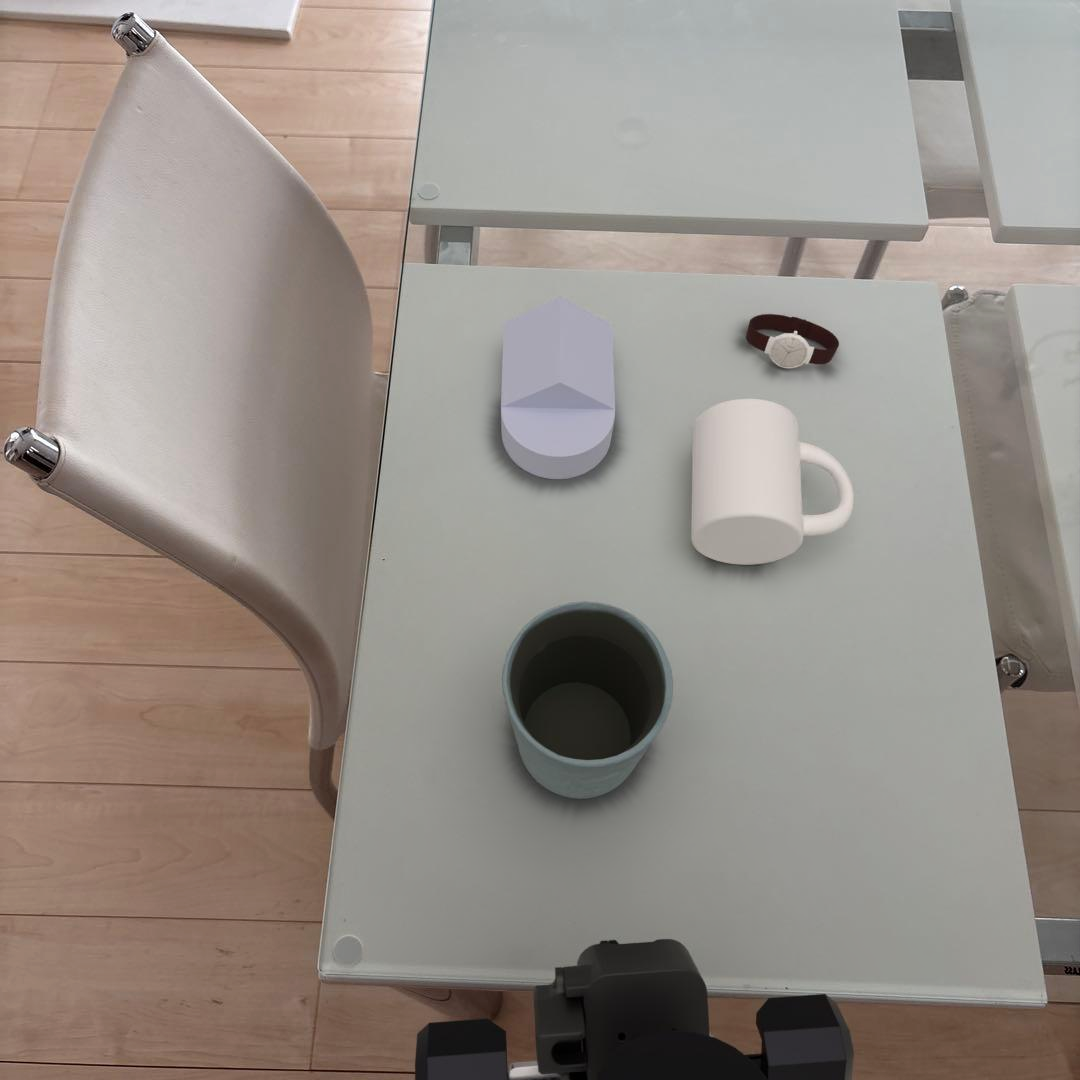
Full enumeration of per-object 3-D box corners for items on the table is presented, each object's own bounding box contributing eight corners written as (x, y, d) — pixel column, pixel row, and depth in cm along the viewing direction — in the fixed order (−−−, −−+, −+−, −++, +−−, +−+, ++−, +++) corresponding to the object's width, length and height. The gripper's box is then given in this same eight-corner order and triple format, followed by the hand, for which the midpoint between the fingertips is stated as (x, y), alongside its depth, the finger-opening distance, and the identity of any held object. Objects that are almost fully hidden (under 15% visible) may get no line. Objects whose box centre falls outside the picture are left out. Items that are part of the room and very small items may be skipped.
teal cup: (606, 837, 63) (625, 798, 53) (476, 762, 66) (468, 710, 55) (672, 709, 68) (702, 648, 57) (547, 642, 70) (553, 572, 59)
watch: (738, 358, 82) (747, 331, 79) (749, 318, 84) (758, 289, 81) (827, 381, 81) (840, 354, 78) (836, 340, 83) (849, 312, 80)
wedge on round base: (504, 348, 82) (499, 478, 76) (503, 294, 76) (498, 430, 70) (608, 350, 82) (612, 480, 76) (616, 296, 76) (621, 433, 70)
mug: (683, 560, 73) (701, 510, 66) (685, 451, 78) (702, 392, 70) (840, 574, 73) (875, 525, 66) (833, 464, 77) (865, 406, 70)
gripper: (932, 1057, 33) (791, 802, 48) (391, 1099, 32) (418, 825, 47) (904, 1285, 37) (780, 981, 51) (414, 1329, 36) (432, 1006, 50)
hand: (607, 946), depth 50 cm, fingers closed
